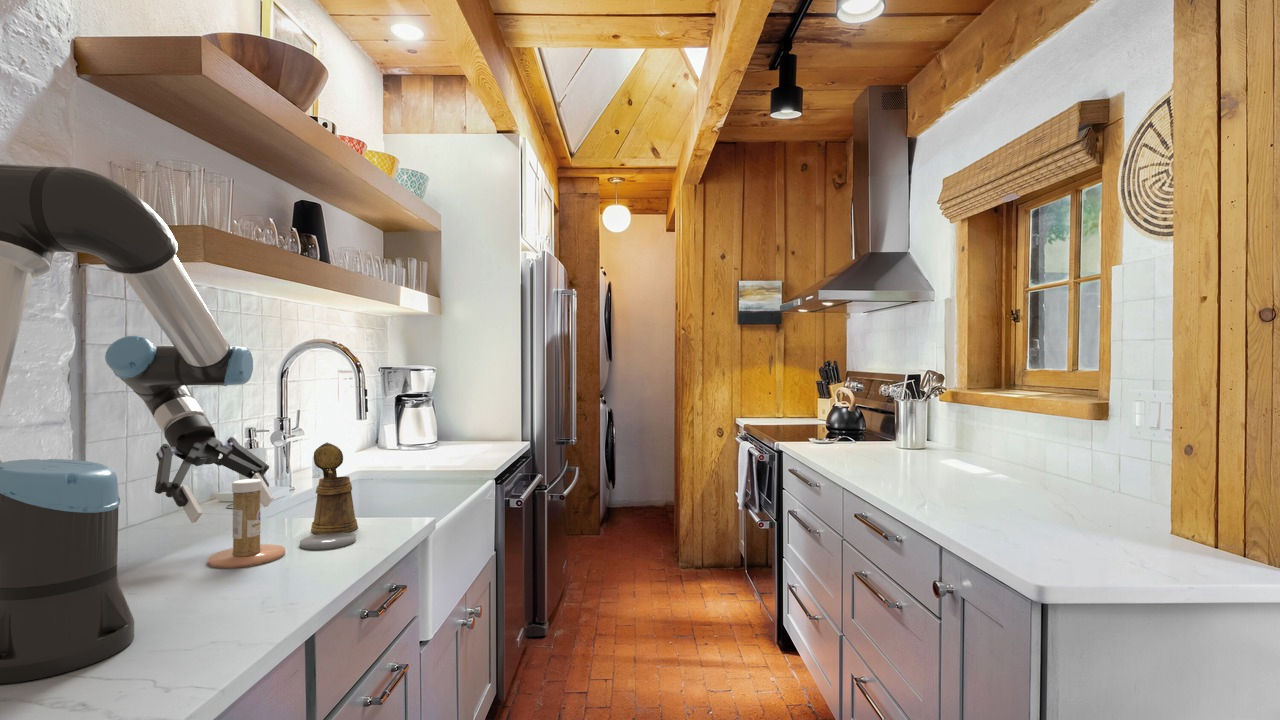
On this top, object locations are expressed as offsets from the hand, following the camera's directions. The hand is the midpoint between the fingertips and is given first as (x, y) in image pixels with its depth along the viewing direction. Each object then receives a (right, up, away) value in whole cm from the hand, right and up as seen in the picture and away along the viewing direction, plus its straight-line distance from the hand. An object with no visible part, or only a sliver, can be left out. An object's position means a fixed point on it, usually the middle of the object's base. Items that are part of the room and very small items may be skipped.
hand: (235, 510), depth 118 cm
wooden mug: (+9, -9, +20) cm, 23 cm away
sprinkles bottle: (+4, -8, -3) cm, 9 cm away
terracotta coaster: (+4, -8, -2) cm, 9 cm away
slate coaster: (+14, -8, +8) cm, 18 cm away
